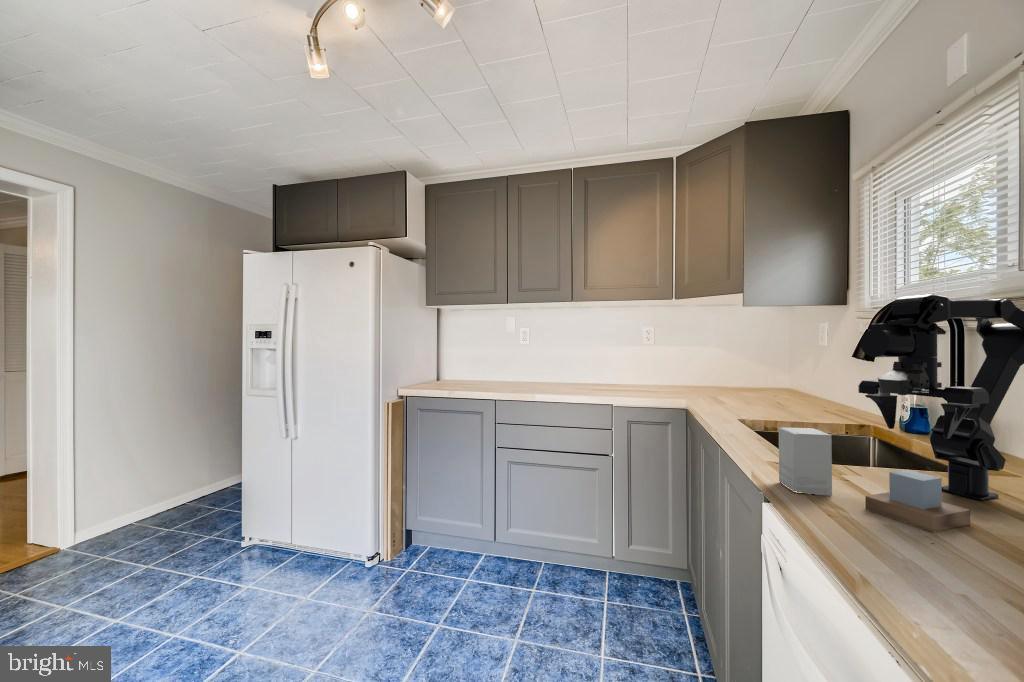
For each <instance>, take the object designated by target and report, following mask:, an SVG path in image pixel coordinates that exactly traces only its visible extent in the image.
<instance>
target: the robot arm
mask: <svg viewBox="0 0 1024 682" xmlns="http://www.w3.org/2000/svg"><path fill="white" fill-rule="evenodd" d="M949 319H974V320H976V321H977V324H976V330H975V331H976V333H977V334H978V335H979V336H980V337H981V339H982V342H981V346H982V349H983V351H984V353H985V355H986V356H985V359H984V360H983V363H982V364H981V366H980V368H979V370H978V372H977V374H976V376H975V377H974V379H973V381H972V383H971V385H970V386H959V385H958V386H945V387H944V388H942V384H943V383H942V382H938V368H942V367H943V366H942V364H943V363H942V361H938V335H946V333H947V332H946V330H945V329H943V328H942V327H940V326H939V325H938V324H937V323H941V322H945V321H948V320H949ZM992 319H1003V320H1004V321H1005V322H1006V323H996V324H992V322H991V321H990V320H992ZM869 328H870V329H869V330H867V331H866V332H865V333H864V334H863V335H862V337H861V339H860V341H859V343H860V344H859V345H860V349H861V350H862V352H863V353H864V354H865V355H866V356H868V357H870V358H871V357H872V358H897V361H893V363H892V364H893V365H892V370H890V371H889V370H888V371H886V372H884V373H883V374H881V375H880V376H877V379H866V380H861V381H860V383H859V384H858V385H857V386H858V389H857V390H858V392H857V393H859V394H864V396H865V398H868V399H870V400H871V401H873V402H874V403H875V404H876V406H877V408H878V410H879V411H880V413H881V415H882V417H883V420H884V421H885V424H886V427H887V428H888V429H889V430H893V429H894V428H895V425H896V417H897V406H898V405H897V403H898V396H911V395H912V396H921V397H930V398H939V399H940V398H942V399H943V400H944V401H946V402H945V403H943V402H942V403H940V406H941V408H942V409H943V412H944V413H943V414H941V415H939V416H938V417H937V419H936V422H935V424H934V426H933V427H932V428H930V431H931V434H930V435H929V442H930V445H931V449H932V451H933V452H932V453H933V454H934V458H935V459H936V460H941V461H946V462H947V485H944V486H942V491H943V492H947V493H951V494H955V495H958V496H963V497H966V498H970V499H972V500H973V499H974V500H978V501H983V500H989V499H993V498H994V499H995V498H998V497H999V494H998V493H995V492H991V491H990V471H992V472H1000V470H1004V467H1005V464H1006V458H1005V457H1004V455H1002V453H1000V451H999V450H998V449H997V448H996V446H995V445H994V444H995V441H996V438H995V437H996V436H995V434H994V432H993V430H992V427H991V423H992V422H993V419H994V417H995V415H996V413H997V411H998V410H999V408H1000V406H1001V404H1002V402H1003V400H1004V399H1005V396H1006V394H1007V392H1008V391H1009V389H1010V386H1011V385H1012V383H1013V381H1014V379H1015V377H1016V375H1017V374H1018V372H1019V370H1020V368H1021V366H1023V365H1024V310H1023V309H1020V308H1018V307H1017V306H1016V304H1015V303H1014V302H1013V301H1012V300H1010V299H1006V298H997V299H996V298H994V299H955V300H954V299H950V298H949V297H948V296H944V295H939V294H932V293H930V294H922V295H912V296H902V297H898V298H895V300H894V302H893V304H892V305H891V307H890V308H889V310H888V311H887V313H886V314H885V316H884V317H883V319H882V320H881V322H880V323H871V324H870V326H869ZM893 394H894V395H893ZM895 394H896V395H895Z"/></svg>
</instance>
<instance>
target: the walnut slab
mask: <svg viewBox="0 0 1024 682" xmlns="http://www.w3.org/2000/svg"><path fill="white" fill-rule="evenodd" d="M864 497H865V500H864V502H865V510H866V511H870V512H872V513H876V514H877V515H881V516H884V517H887V518H890V519H893V520H896V521H899V522H902V523H904V524H907V525H910V526H912V527H916V528H919V529H922V530H924V531H928V532H931V533H936V532H941V531H944V530H945V531H946V530H949V529H955V528H959V527H964V526H968V525H971V510H970V509H969V508H964V507H961V506H958V505H954V504H951V503H948V502H944V501H942V506H940V507H935V508H929V509H924V510H923V509H920V508H916V507H913V506H910V505H907V504H903V503H900V502H897V501H894V500H891V499H890V491H888V492H882V493H875V494H868V495H865V496H864Z"/></svg>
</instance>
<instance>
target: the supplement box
mask: <svg viewBox="0 0 1024 682" xmlns="http://www.w3.org/2000/svg"><path fill="white" fill-rule="evenodd" d="M832 442H833V441H832V434H829V433H826V432H824V431H821V430H819V429H816V428H814V427H813V428H809V427H806V428H805V427H778V482H779V481H780V482H782V483H783V484H784V485H786V486H787V487H789V488H790V489H792V490H793V491H797V492H802V493H808V494H807V495H811V494H815V495H814V496H829V497H831V496H833V472H832V471H833V458H832V457H833V455H832V454H833V453H832V451H833V450H832V449H833V448H832V445H833V444H832ZM784 485H783V486H784Z"/></svg>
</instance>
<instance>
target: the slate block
mask: <svg viewBox="0 0 1024 682" xmlns="http://www.w3.org/2000/svg"><path fill="white" fill-rule="evenodd" d="M888 474H889V478H888V479H889V492H890V499H891V500H894V501H897V502H900V503H903V504H907V505H910V506H913V507H916V508H920V509H923V510H924V509H929V508H935V507H940V506H942V502H943V501H942V500H943V498H942V496H943V495H942V494H943V493H942V491H943V490H942V477H939V476H934V475H932V474H931V475H930V474H926V473H923V472H918V471H914V470H911V469H902V470H896V471H889V473H888Z"/></svg>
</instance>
